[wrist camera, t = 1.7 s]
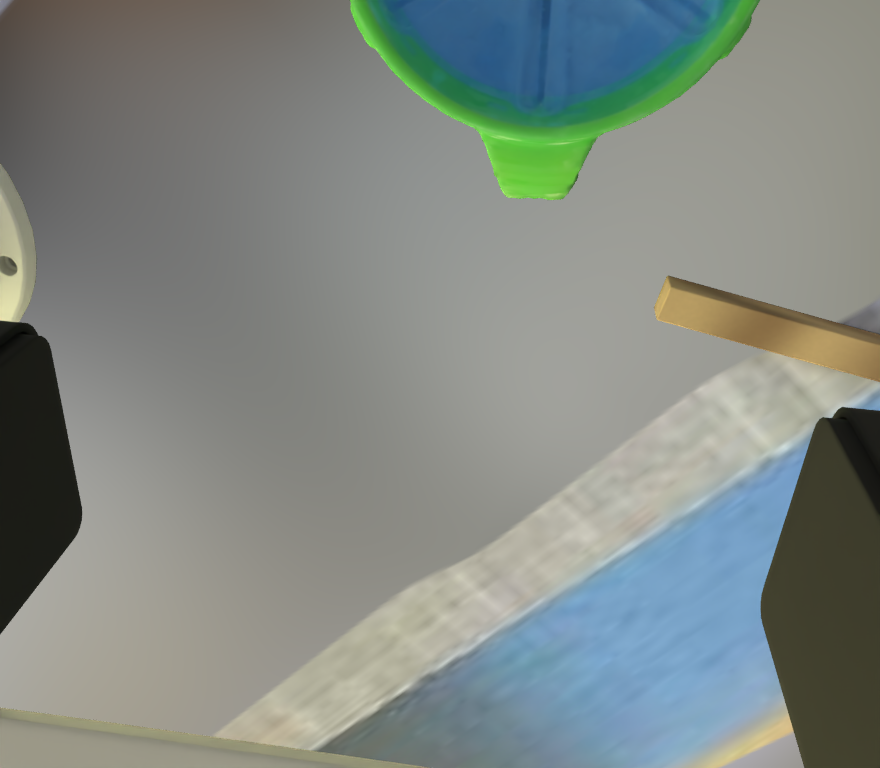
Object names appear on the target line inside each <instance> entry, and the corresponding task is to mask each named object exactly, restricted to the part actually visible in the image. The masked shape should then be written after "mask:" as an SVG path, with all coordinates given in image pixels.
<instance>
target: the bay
mask: <svg viewBox="0 0 880 768" xmlns="http://www.w3.org/2000/svg"><path fill="white" fill-rule="evenodd" d="M654 309H655V314H656V318H657V320H659V321H663V322H666V323H670V324H674V325H677V326H681V327H685V328H688V329H691V330H695V331H699V332H702V333H706V334H709V335H713V336H717V337H720V338H724V339H728V340H731V341H735V342H738V343H742V344H745V345H749V346H753V347H757V348H760V349H763V350H767V351H771V352H774V353H778V354H781V355H785V356H788V357H792V358H796V359H799V360H803V361H806V362H810V363H814V364H817V365H821V366H824V367H828V368H832V369H835V370H839V371H842V372H846V373H850V374H853V375H857V376H860V377H864V378H867V379H871V380H875V381H878V382H880V335H879V334H876V333H872V332H869V331H865V330H861V329H858V328H854V327H851V326H847V325H844V324H840V323H836V322H832V321H829V320H825V319H822V318H818V317H815V316H811V315H808V314H804V313H800V312H797V311H793V310H790V309H786V308H782V307H779V306H775V305H771V304H768V303H765V302H761V301H757V300H753V299H750V298H746V297H743V296H739V295H736V294H732V293H729V292H725V291H722V290H718V289H714V288H711V287H707V286H704V285H700V284H696V283H693V282H689V281H686V280H682V279H678V278H675V277H671V276H667V277H666V280H665V282H664V285H663V287H662V290H661V292H660V294H659V297H658V299H657V302H656V304H655V307H654Z"/></svg>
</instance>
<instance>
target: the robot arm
mask: <svg viewBox="0 0 880 768" xmlns="http://www.w3.org/2000/svg"><path fill="white" fill-rule="evenodd" d="M36 261H37V255H36V249H35V243H34V236H33V230H32V227H31V224H30V221H29V218H28V215H27V212H26V209H25V206H24V203H23V201H22V199H21V197H20V195H19V193H18V192H17V190H16V188H15V186H14V184H13V182H12V180H11V178H10V176H9V175H8V173H7V172H6V170H5V169H4V168H3V166H2V165H1V163H0V634H1V633H2V631H3V630H4V629H5V628H6V626H7V625H8V624H9V622H10V621H11V620H12V618H13V617H14V616H15V615H16V613H17V612H18V611H19V609H20V608H21V607H22V606H23V604H24V603H25V602H26V600H27V599H28V598H29V596H30V595H31V594H32V593H33V591H34V590H35V589H36V587H37V586H38V585H39V583H40V582H41V581H42V580H43V578H44V577H45V576H46V575H47V573H48V572H49V571H50V569H51V568H52V567H53V565H54V564H55V563H56V562H57V560H58V559H59V558H60V556H61V555H62V554H63V552H64V551H65V550H66V548H67V547H68V546H69V545H70V543H71V542H72V541H73V539H74V538H75V537H76V535H77V533H78V531H79V528H80V524H81V521H82V506H81V501H80V496H79V491H78V486H77V481H76V475H75V470H74V465H73V460H72V455H71V450H70V445H69V440H68V434H67V429H66V424H65V419H64V414H63V409H62V404H61V399H60V394H59V389H58V383H57V378H56V373H55V368H54V363H53V358H52V353H51V349H50V345H49V343H48V342H47V340H46V339H45V338H44V337H42V336H38V334H37V332H36V331H35V329H34V327H32V326H31V325H29V324H28V323H19V321H20V319H21V318H22V316H23V314H24V312H25V310H26V308H27V307H28V305H29V303H30V300H31V297H32V293H33V289H34V286H35V282H36ZM761 619H762V623H763V627H764V630H765V634H766V637H767V641H768V644H769V648H770V651H771V654H772V658H773V661H774V665H775V668H776V672H777V675H778V678H779V682H780V685H781V689H782V692H783V696H784V699H785V703H786V706H787V709H788V713H789V716H790V720H791V723H792V727H793V730H794V733H795V737H796V740H797V744H798V747H799V751H800V754H801V757H802V761H803V764H804V768H880V411H875V410H865V409H856V408H846V407H842V408H840V409H838V410H837V412H836V413H835V414H834V416H833V418H824V417H823V418H821V419H820V420H819V421H818V422H817V424H816V426H815V429H814V431H813V434H812V438H811V441H810V444H809V447H808V450H807V453H806V456H805V459H804V463H803V466H802V469H801V472H800V475H799V478H798V481H797V485H796V488H795V491H794V494H793V497H792V500H791V503H790V506H789V510H788V513H787V516H786V519H785V522H784V525H783V528H782V532H781V535H780V538H779V541H778V544H777V547H776V550H775V553H774V557H773V560H772V563H771V566H770V569H769V572H768V575H767V579H766V582H765V585H764V588H763V592H762V597H761ZM0 768H429V767H422V766H415V765H408V764H401V763H394V762H387V761H380V760H373V759H366V758H359V757H352V756H344V755H337V754H330V753H323V752H316V751H309V750H302V749H295V748H288V747H281V746H274V745H267V744H260V743H253V742H246V741H238V740H231V739H224V738H217V737H210V736H203V735H196V734H188V733H181V732H174V731H167V730H160V729H153V728H145V727H138V726H131V725H124V724H117V723H110V722H102V721H95V720H87V719H80V718H73V717H66V716H58V715H51V714H43V713H35V712H28V711H21V710H14V709H6V708H0Z"/></svg>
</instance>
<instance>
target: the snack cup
mask: <svg viewBox="0 0 880 768" xmlns="http://www.w3.org/2000/svg"><path fill="white" fill-rule="evenodd" d="M759 1H760V0H350V2H351V6H350V9H351V12H352V15H353V17H354V20H355V23H356V25H357V27H358V29H359V31H360V32H361V33H362V35H363V37H364V39H365V41H366V43H367V44H368V45H369V46H370V47H372V48H375V49H376V50H377V51H378V53H379V54H380V56H381V57H382V58H383V59H384V61H385V62H386V63H387V65H388V66H389V67H390V68H391V70H392V71H393V72H394V73H395V74H396V75H397V76H398V77H399V78H400V79H401V80H402V81H403V82H404V83H405V84H406V85H407V86H408V87H409V88H410V89H411V90H413V91H414V92H415V93H416V94H418V95H419V96H420V97H421V98H422V99H424V100H425V101H427V102H428V103H430V104H431V105H433V106H434V107H436V108H437V109H438V110H440V111H441V112H443V113H444V114H446V115H448V116H450V117H452V118H454V119H456V120H458V121H460V122H462V123H464V124H466V125H468V126H471V127H473V128H475V129H476V130H477V131H478V132H479V134H480V135H481V137H482V140H483V142H484V143H485V146H486V148H487V152H488V156H489V159H490V161H491V163H492V166H493V170H494V175H495V176H496V177H497V179H498V183H499V186H500V188H501V190H502V192H503V193H504V195H505V196H507V197H509V198H519V199H521V198H527V197H529V198H533V199H535V198H544V199H547V200H556V199H557V200H558V199H563V198H564V197H565V196H566V195H567V194H568V193H569V191H570V189H571V188H572V187H573V185H574V184H575V182H576V181H577V178H578V173H579V171H580V170H581V168H582V166H583V163H584V161H585V159H586V157H587V155H588V153H589V151H590V150H591V148H592V145H593V144H594V142H595V141H596V138H597V137H598V136H600V135H602V134H603V133H605V132H608V131H612V130H615V129H618V128H620V127H623V126H626V125H629V124H631V123H633V122H636V121H638V120H640V119H642V118H644V117H646V116H648V115H650V114H651V113H653V112H655V111H657V110H659V109H660V108H662V107H664V106H665V105H667V104H669V103H670V102H672V101H673V100H675V99H676V98H678V97H680V96H681V95H682V94H683V93H684V92H686V91H687V90H688V89H689V88H691V87H692V86H693V85H694V84H696V83H697V82H698V81H699V80H700V79H701V78H702V77H703V76H704V75H705V74H706V73H707V72H708V71H709V70H710V68H711V67H712V66H713V65H714V64H715V63H716V62H717V61H718V60H720V59H723V58H725V57H726V56H728V55H729V53H730V52H731V51H732V49H733V48H734V47H735V45H736V44H737V43H738V42H739V41H740V39H741V38H742V36H743V35H744V33H745V32H746V30H747V29H748V28H749V25H750V23H751V15H752V13H753V12H754V10H755V8H756V6H757V5H758V3H759Z"/></svg>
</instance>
